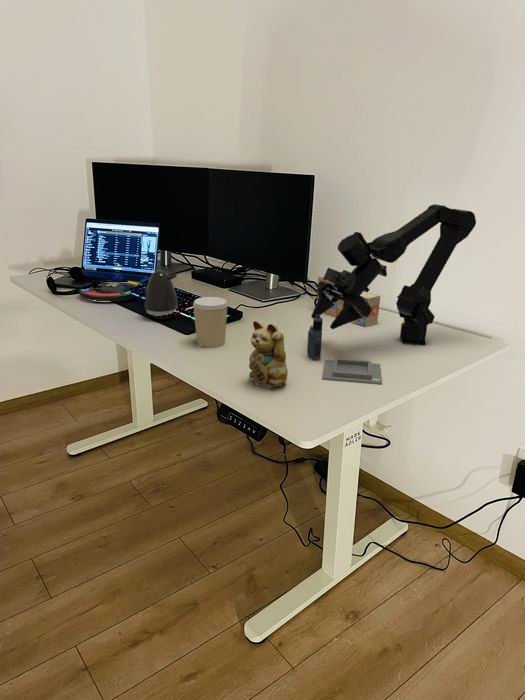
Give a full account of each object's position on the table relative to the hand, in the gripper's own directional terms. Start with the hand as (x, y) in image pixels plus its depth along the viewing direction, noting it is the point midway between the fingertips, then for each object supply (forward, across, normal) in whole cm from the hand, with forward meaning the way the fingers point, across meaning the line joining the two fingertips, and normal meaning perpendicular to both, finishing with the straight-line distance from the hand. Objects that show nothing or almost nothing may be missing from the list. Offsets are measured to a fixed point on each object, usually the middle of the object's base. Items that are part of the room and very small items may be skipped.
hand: (321, 322), depth 140 cm
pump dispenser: (+27, -48, -13) cm, 57 cm away
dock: (+5, +12, +8) cm, 15 cm away
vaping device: (+8, 0, +6) cm, 10 cm away
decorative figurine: (+20, +10, -7) cm, 24 cm away
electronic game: (+34, -81, -19) cm, 90 cm away
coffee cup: (+23, -21, -9) cm, 32 cm away
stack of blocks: (-12, -27, +25) cm, 39 cm away
